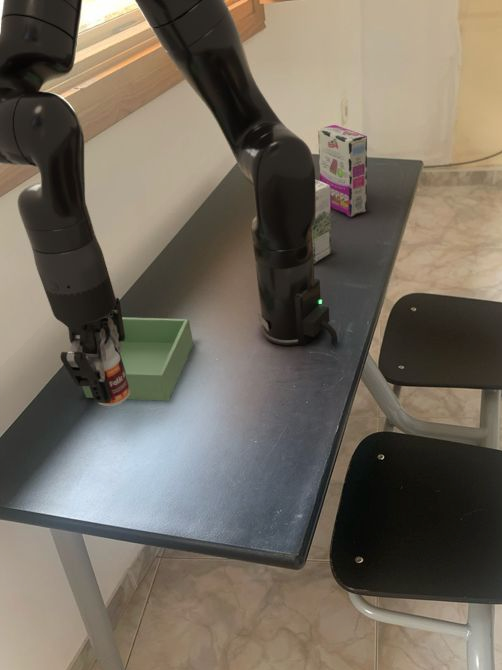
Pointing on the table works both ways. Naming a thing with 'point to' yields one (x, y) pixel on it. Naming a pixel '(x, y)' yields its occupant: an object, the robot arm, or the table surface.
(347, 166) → the candy bar box
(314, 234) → the syrup box
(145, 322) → the basket
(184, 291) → the table surface
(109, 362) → the pill bottle
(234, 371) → the table surface
